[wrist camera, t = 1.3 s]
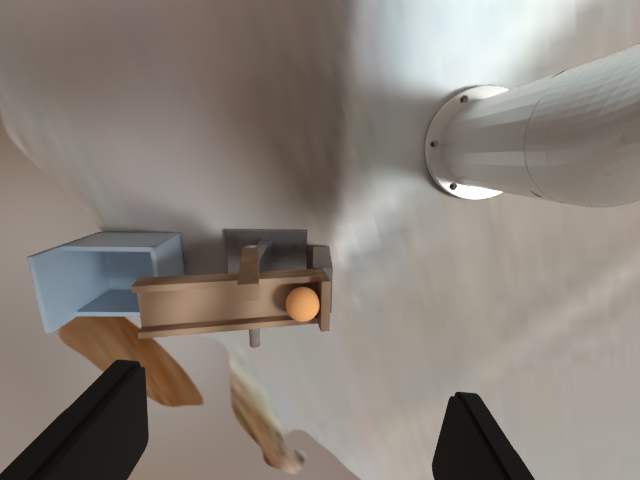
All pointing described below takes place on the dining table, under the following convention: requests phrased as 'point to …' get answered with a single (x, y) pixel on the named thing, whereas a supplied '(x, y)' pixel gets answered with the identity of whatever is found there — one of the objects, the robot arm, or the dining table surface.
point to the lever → (227, 300)
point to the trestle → (277, 251)
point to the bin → (101, 273)
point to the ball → (302, 304)
